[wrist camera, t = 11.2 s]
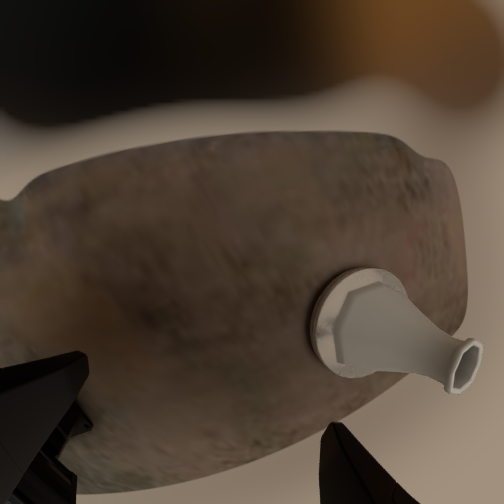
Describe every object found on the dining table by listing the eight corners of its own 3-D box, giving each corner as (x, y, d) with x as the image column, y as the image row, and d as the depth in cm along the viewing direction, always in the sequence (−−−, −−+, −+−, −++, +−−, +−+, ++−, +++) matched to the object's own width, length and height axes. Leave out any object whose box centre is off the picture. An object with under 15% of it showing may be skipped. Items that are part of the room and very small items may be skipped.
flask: (393, 363, 20) (477, 407, 11) (322, 372, 19) (404, 445, 9) (408, 282, 20) (507, 298, 11) (337, 278, 19) (446, 302, 9)
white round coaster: (328, 385, 22) (341, 397, 19) (286, 302, 21) (298, 309, 18) (401, 329, 23) (418, 335, 21) (373, 247, 22) (391, 247, 20)
